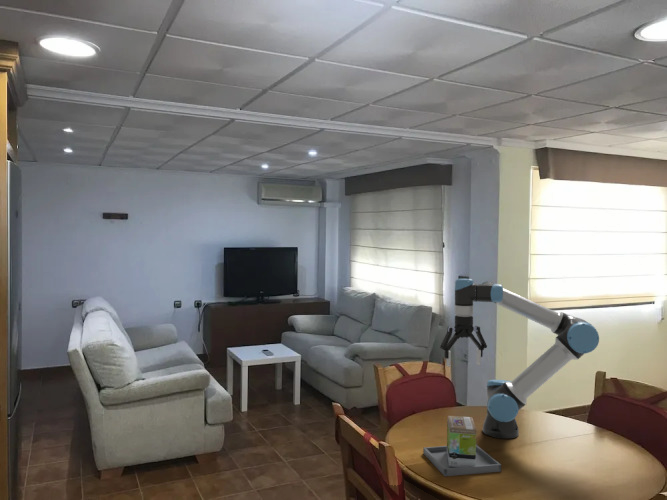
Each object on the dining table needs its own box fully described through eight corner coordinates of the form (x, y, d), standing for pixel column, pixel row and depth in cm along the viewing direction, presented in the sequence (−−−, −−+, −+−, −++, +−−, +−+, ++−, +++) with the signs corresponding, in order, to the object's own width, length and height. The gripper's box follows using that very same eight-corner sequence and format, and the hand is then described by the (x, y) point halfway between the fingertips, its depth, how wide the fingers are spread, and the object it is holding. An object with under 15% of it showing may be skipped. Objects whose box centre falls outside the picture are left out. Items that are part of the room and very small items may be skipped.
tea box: (476, 469, 197) (476, 429, 197) (448, 467, 198) (448, 427, 198) (472, 453, 212) (472, 415, 212) (446, 451, 213) (446, 414, 213)
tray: (474, 449, 218) (474, 443, 218) (501, 471, 197) (501, 464, 197) (423, 453, 213) (423, 447, 213) (444, 476, 193) (444, 469, 193)
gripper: (486, 313, 234) (486, 362, 234) (432, 314, 229) (432, 364, 229) (495, 315, 226) (495, 366, 227) (439, 317, 222) (439, 368, 222)
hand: (463, 365), depth 228 cm, fingers open, 13 cm apart
